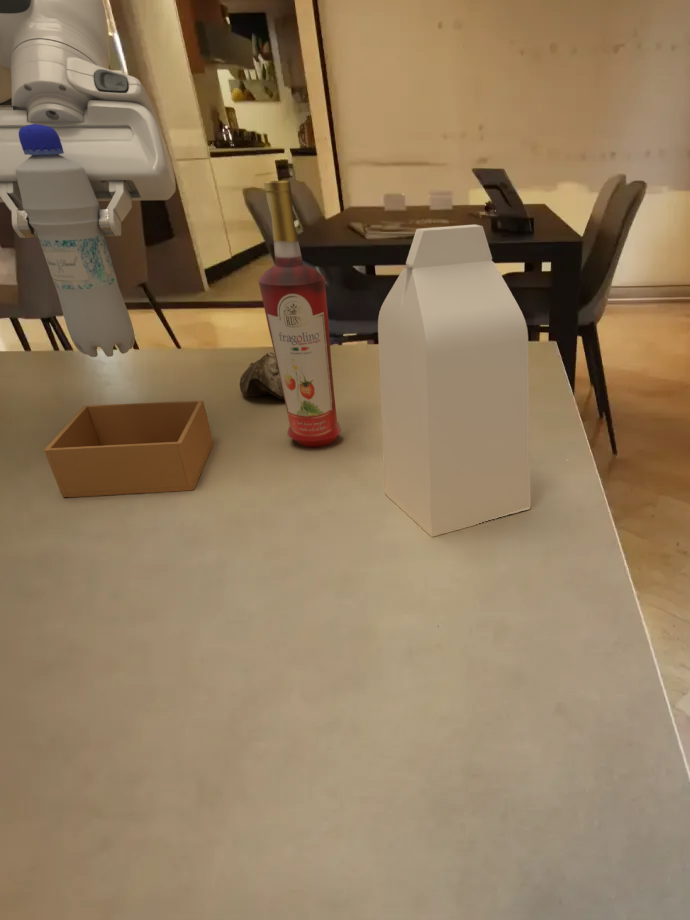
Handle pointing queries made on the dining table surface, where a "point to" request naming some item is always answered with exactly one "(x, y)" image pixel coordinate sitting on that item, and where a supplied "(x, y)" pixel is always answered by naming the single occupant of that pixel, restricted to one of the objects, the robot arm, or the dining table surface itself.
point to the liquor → (299, 328)
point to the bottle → (73, 243)
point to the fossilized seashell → (262, 378)
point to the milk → (454, 385)
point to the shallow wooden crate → (131, 449)
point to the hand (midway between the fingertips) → (68, 232)
